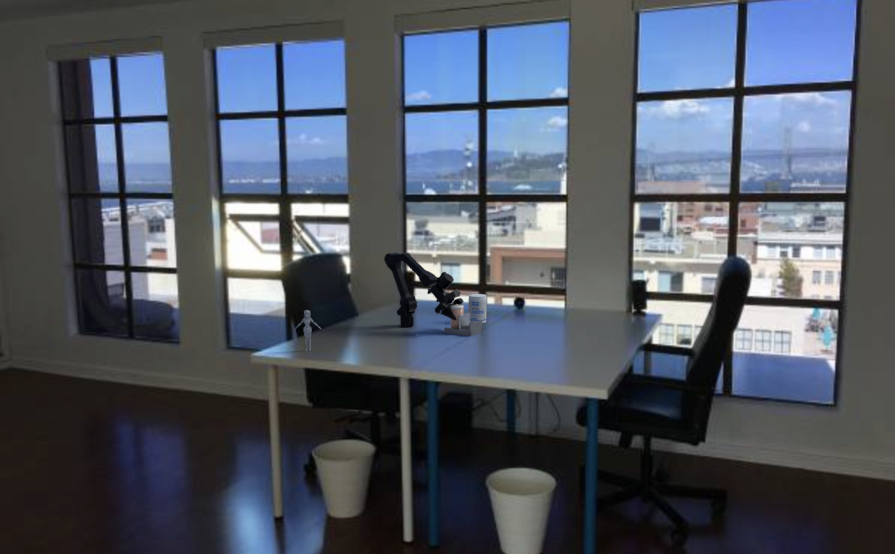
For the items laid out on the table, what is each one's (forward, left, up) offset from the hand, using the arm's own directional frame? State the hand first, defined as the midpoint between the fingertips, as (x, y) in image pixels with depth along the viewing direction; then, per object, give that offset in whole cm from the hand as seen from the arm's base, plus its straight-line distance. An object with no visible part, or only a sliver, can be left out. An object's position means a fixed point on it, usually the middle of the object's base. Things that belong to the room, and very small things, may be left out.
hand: (459, 318), depth 348 cm
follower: (+2, -2, -7) cm, 7 cm away
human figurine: (-73, -19, -7) cm, 76 cm away
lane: (+2, -2, -7) cm, 7 cm away
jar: (-1, +1, -7) cm, 7 cm away
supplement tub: (+15, +23, -7) cm, 29 cm away
